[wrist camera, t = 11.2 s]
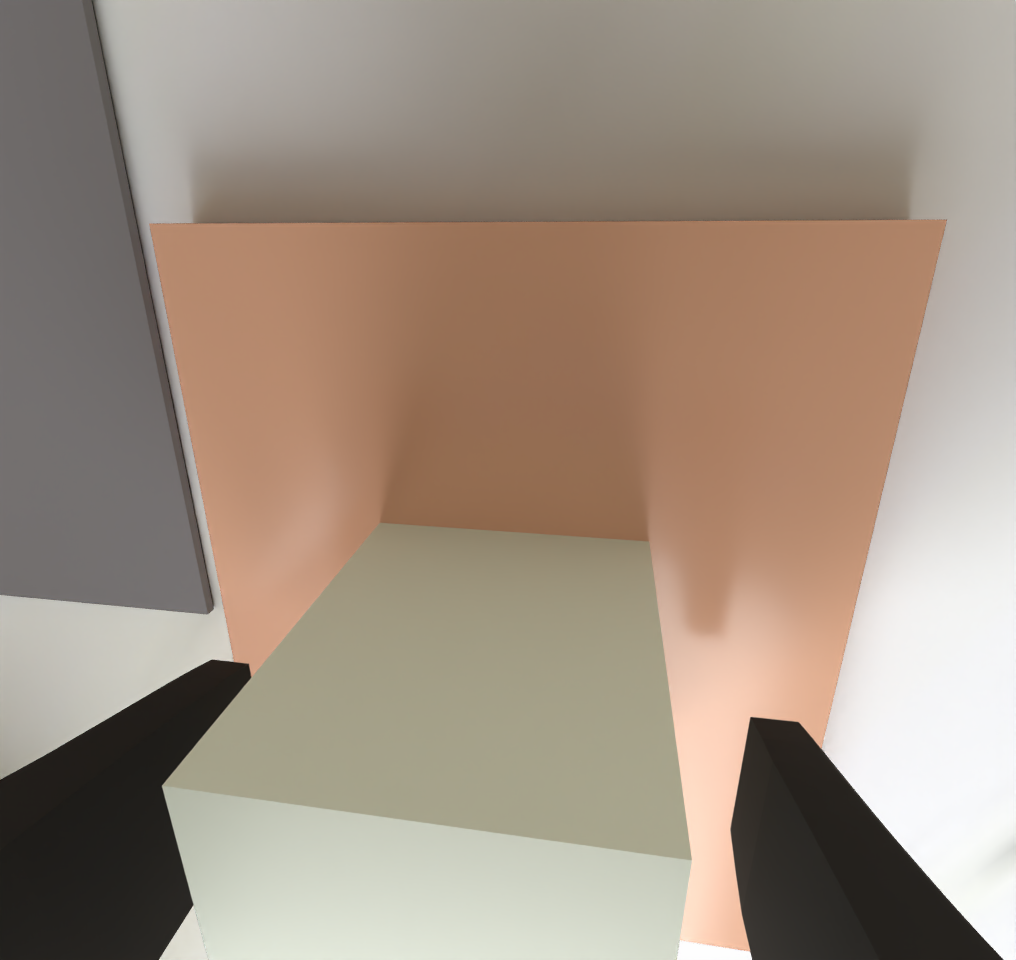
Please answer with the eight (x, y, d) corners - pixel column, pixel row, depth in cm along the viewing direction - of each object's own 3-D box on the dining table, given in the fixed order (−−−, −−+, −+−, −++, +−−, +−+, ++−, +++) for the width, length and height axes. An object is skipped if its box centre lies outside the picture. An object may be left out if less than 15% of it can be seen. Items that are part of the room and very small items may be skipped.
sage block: (629, 757, 11) (644, 1169, 6) (396, 730, 12) (242, 1082, 7) (649, 541, 10) (692, 860, 5) (379, 523, 10) (161, 785, 5)
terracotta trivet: (761, 906, 14) (772, 955, 13) (295, 837, 15) (275, 876, 14) (910, 222, 9) (946, 219, 8) (190, 225, 10) (149, 223, 9)
